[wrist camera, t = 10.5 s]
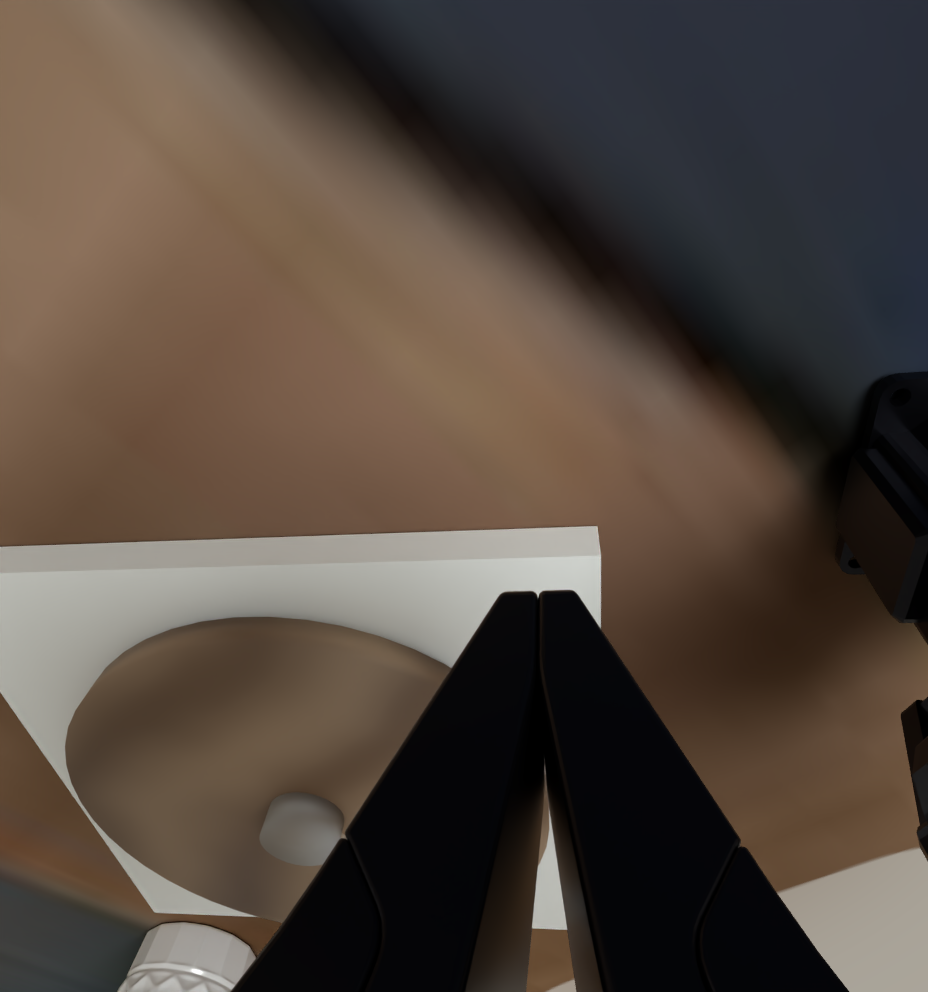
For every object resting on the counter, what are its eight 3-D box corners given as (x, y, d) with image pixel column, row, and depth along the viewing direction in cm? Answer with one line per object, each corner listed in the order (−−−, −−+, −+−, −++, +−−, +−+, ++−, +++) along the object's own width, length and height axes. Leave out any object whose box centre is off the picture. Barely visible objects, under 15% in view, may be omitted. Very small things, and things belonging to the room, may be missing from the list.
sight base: (597, 526, 22) (607, 605, 19) (597, 898, 34) (603, 983, 31) (-51, 548, 25) (-134, 620, 22) (167, 883, 37) (134, 959, 34)
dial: (647, 749, 25) (714, 1172, 16) (423, 944, 35) (382, 1272, 26) (138, 530, 21) (-172, 912, 12) (50, 818, 31) (-157, 1148, 22)
